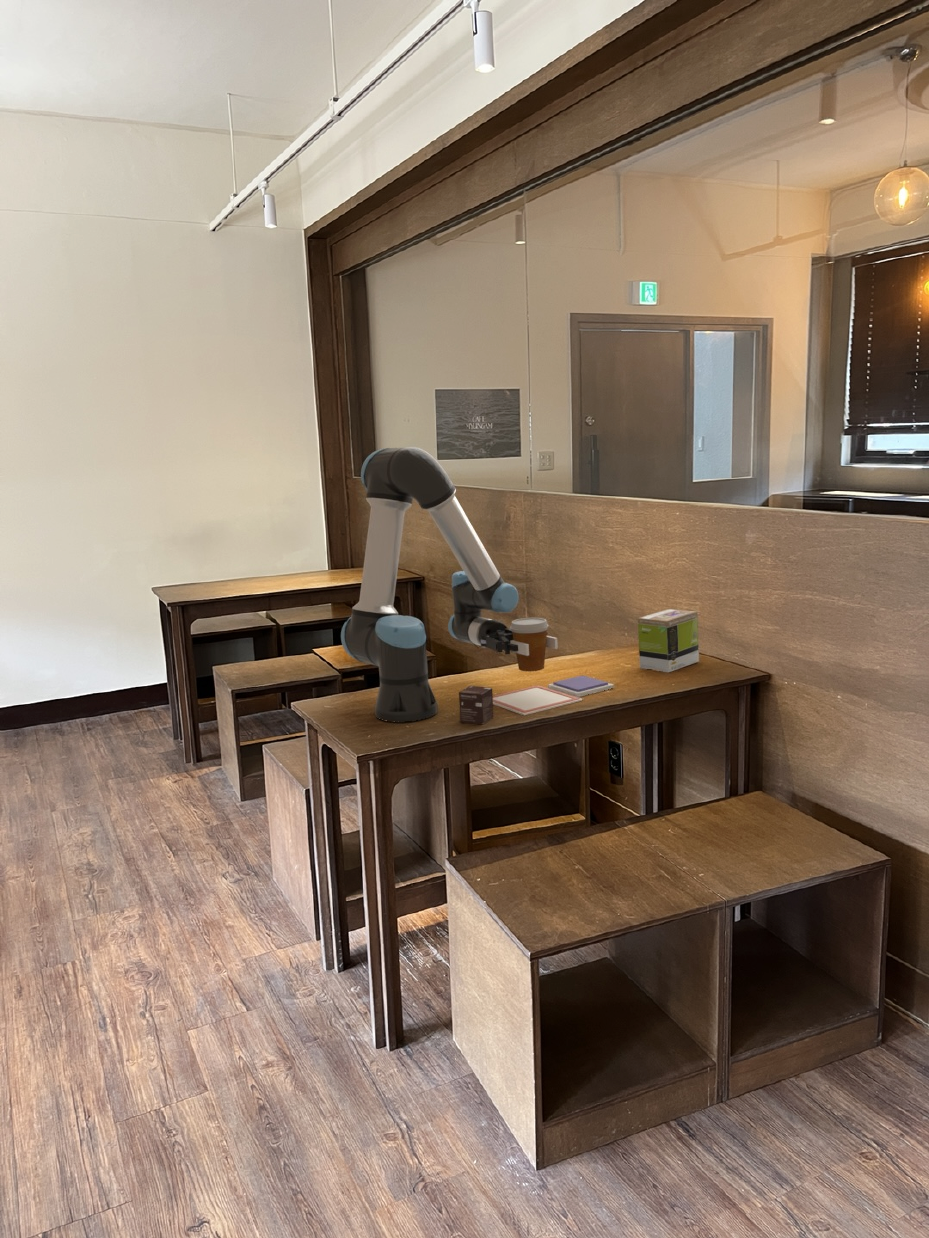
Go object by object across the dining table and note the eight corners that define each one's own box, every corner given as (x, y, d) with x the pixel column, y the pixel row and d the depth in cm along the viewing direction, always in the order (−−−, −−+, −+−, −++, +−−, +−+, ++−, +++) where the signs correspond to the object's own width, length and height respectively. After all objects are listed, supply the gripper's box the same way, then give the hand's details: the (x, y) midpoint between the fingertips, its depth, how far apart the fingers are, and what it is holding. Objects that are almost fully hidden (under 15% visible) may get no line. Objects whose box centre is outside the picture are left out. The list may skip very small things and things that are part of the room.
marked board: (524, 715, 207) (523, 713, 207) (481, 700, 222) (481, 697, 222) (582, 700, 217) (582, 698, 217) (538, 686, 232) (537, 684, 232)
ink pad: (577, 697, 220) (577, 691, 220) (548, 688, 230) (547, 682, 230) (613, 688, 226) (613, 682, 226) (583, 679, 236) (583, 673, 236)
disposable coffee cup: (531, 675, 212) (529, 626, 210) (504, 669, 219) (501, 622, 217) (558, 667, 218) (556, 619, 216) (531, 661, 225) (528, 615, 223)
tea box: (669, 658, 255) (668, 607, 252) (699, 662, 247) (699, 611, 245) (638, 668, 245) (637, 616, 242) (668, 673, 238) (667, 620, 235)
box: (459, 722, 205) (457, 692, 204) (471, 715, 210) (469, 685, 209) (482, 724, 202) (481, 694, 201) (494, 717, 208) (492, 687, 206)
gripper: (521, 640, 238) (576, 654, 219) (456, 654, 227) (508, 669, 208) (520, 613, 237) (574, 624, 218) (454, 626, 226) (506, 639, 207)
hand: (542, 646), depth 213 cm, fingers closed on disposable coffee cup, 8 cm apart
